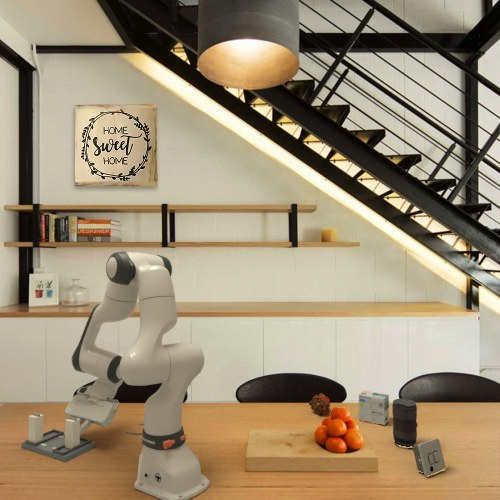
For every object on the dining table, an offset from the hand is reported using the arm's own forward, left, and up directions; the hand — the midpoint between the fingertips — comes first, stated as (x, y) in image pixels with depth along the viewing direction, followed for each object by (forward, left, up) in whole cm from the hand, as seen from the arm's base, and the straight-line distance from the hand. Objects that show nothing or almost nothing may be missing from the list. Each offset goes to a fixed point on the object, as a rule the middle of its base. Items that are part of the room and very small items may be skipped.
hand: (77, 433), depth 144 cm
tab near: (-1, +2, -4) cm, 4 cm away
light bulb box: (-62, -93, -6) cm, 112 cm away
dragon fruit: (-41, -86, -6) cm, 96 cm away
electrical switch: (-93, -67, -6) cm, 115 cm away
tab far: (+12, +9, -4) cm, 15 cm away
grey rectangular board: (+6, +4, -5) cm, 9 cm away
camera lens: (-80, -80, -6) cm, 113 cm away
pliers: (-6, -27, -6) cm, 29 cm away
